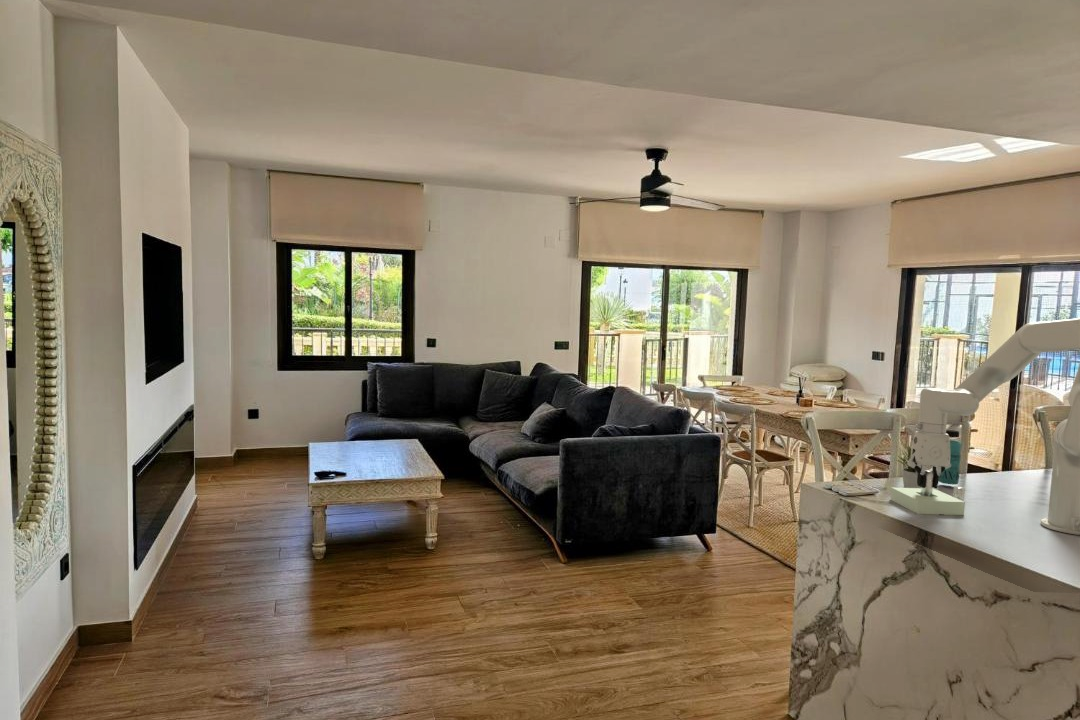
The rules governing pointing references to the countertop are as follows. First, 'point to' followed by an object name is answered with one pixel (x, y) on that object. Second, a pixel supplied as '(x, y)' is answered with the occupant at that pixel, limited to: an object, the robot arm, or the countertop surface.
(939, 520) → the countertop surface
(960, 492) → the short pin
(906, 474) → the house plant
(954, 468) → the beverage bottle
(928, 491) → the tall pin
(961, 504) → the hole block
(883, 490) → the countertop surface
